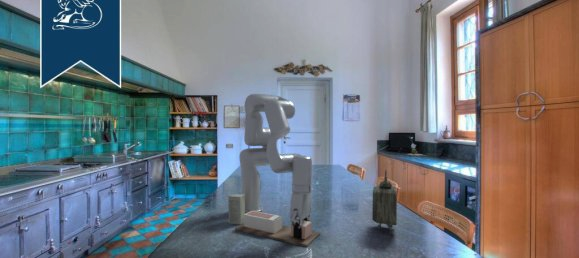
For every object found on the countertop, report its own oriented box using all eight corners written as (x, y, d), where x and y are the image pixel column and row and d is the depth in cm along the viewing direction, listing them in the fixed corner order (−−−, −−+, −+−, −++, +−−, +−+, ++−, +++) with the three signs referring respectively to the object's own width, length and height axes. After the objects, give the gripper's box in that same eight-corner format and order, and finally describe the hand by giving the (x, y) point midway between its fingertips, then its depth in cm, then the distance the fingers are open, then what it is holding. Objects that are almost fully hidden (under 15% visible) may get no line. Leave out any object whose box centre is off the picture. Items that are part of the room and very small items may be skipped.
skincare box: (245, 221, 120) (245, 194, 120) (240, 225, 116) (240, 196, 116) (232, 220, 122) (233, 193, 122) (227, 223, 118) (227, 195, 118)
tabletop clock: (396, 237, 104) (397, 173, 104) (372, 234, 107) (372, 171, 107) (395, 225, 117) (396, 168, 117) (373, 222, 121) (374, 167, 120)
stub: (290, 236, 101) (290, 223, 101) (297, 230, 107) (297, 219, 107) (305, 239, 99) (305, 226, 99) (311, 233, 104) (311, 221, 104)
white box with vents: (243, 226, 112) (243, 214, 112) (252, 222, 117) (252, 210, 117) (274, 233, 105) (274, 220, 105) (281, 228, 110) (281, 215, 110)
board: (235, 229, 110) (235, 227, 110) (252, 220, 121) (252, 219, 121) (307, 247, 95) (307, 244, 95) (319, 235, 106) (319, 233, 106)
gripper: (302, 183, 112) (302, 225, 112) (282, 191, 97) (281, 241, 97) (319, 184, 108) (318, 229, 109) (300, 194, 93) (300, 245, 93)
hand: (301, 234), depth 103 cm, fingers closed on stub, 6 cm apart
